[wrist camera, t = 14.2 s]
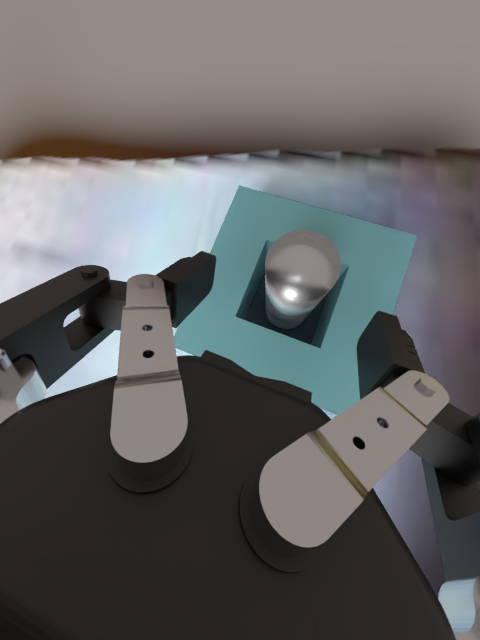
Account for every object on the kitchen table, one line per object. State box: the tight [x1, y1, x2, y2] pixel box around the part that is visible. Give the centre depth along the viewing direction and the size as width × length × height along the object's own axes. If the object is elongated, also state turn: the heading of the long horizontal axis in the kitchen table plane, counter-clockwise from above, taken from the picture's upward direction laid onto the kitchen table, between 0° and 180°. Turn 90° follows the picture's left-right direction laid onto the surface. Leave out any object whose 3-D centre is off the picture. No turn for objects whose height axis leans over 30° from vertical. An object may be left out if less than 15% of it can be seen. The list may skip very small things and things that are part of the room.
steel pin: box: [265, 230, 341, 329], centre depth 17 cm, size 4×4×10 cm
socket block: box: [174, 186, 418, 415], centre depth 19 cm, size 13×13×5 cm
